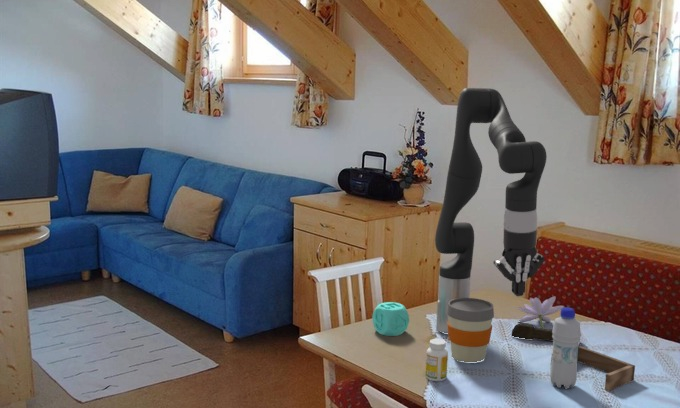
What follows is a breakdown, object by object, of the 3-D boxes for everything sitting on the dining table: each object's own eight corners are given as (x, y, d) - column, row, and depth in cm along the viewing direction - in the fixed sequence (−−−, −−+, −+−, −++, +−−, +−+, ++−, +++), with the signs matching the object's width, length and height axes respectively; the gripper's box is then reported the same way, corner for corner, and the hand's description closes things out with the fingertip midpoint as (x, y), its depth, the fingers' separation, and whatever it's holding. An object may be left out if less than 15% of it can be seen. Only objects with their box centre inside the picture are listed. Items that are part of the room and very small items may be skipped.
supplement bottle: (427, 382, 174) (429, 345, 173) (423, 373, 180) (424, 337, 178) (449, 381, 175) (450, 345, 173) (443, 372, 180) (445, 337, 179)
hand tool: (578, 341, 205) (579, 326, 204) (579, 346, 201) (580, 331, 200) (511, 335, 209) (512, 320, 209) (511, 339, 206) (512, 324, 205)
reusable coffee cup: (462, 345, 200) (465, 294, 197) (500, 357, 191) (503, 305, 188) (435, 356, 191) (437, 303, 188) (473, 370, 182) (476, 315, 180)
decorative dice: (409, 333, 209) (409, 307, 208) (388, 338, 204) (388, 311, 203) (392, 325, 215) (393, 300, 214) (371, 330, 211) (372, 304, 210)
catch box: (608, 391, 171) (609, 375, 170) (550, 368, 184) (551, 353, 184) (633, 380, 177) (635, 365, 177) (576, 358, 191) (577, 345, 190)
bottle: (544, 379, 177) (549, 303, 173) (570, 379, 177) (575, 303, 174) (554, 391, 170) (560, 312, 167) (581, 390, 171) (587, 312, 167)
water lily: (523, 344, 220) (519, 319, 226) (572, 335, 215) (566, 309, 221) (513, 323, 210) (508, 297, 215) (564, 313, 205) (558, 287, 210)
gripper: (502, 234, 158) (501, 305, 163) (554, 227, 161) (551, 296, 166) (486, 225, 165) (486, 293, 170) (536, 218, 168) (534, 285, 173)
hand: (518, 294), depth 168 cm, fingers closed
